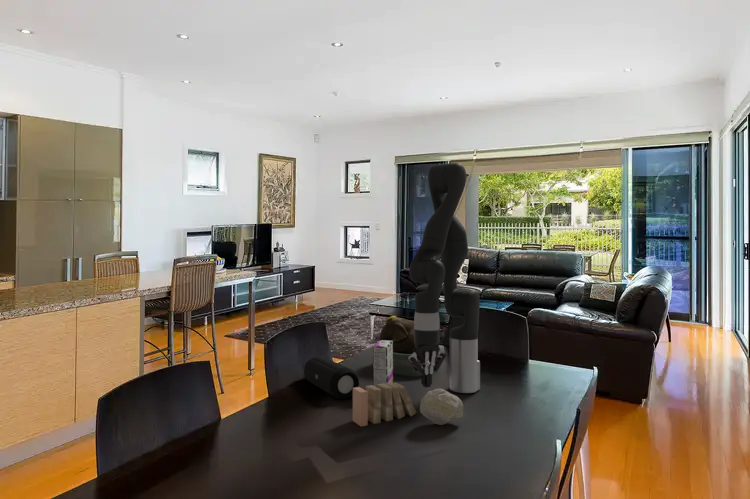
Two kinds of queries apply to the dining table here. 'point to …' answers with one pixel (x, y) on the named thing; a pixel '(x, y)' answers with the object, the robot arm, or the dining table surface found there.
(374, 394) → the tile
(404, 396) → the tile
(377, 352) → the candy bar box
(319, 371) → the portable speaker
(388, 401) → the tile
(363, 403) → the tile
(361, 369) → the dining table surface
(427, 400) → the fossil replica
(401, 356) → the elephant in basket
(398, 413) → the tile
